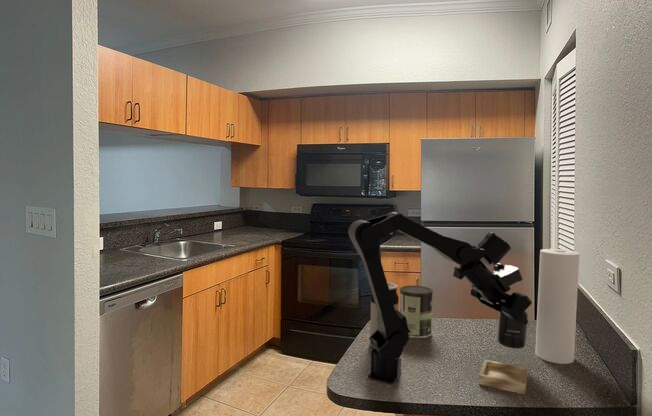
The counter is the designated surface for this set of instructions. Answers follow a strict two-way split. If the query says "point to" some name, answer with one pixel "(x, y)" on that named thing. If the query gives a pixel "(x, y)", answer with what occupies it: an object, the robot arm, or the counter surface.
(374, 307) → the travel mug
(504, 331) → the supplement bottle
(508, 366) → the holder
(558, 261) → the paper towel roll
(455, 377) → the counter surface
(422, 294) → the coffee can
